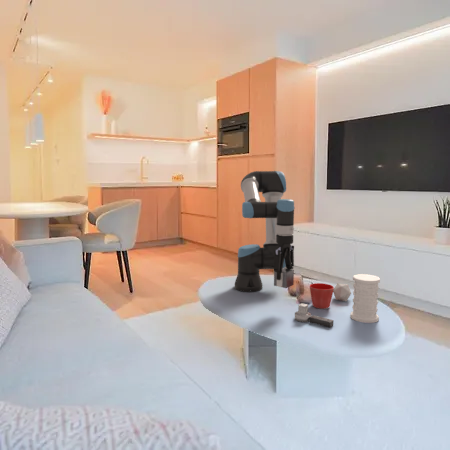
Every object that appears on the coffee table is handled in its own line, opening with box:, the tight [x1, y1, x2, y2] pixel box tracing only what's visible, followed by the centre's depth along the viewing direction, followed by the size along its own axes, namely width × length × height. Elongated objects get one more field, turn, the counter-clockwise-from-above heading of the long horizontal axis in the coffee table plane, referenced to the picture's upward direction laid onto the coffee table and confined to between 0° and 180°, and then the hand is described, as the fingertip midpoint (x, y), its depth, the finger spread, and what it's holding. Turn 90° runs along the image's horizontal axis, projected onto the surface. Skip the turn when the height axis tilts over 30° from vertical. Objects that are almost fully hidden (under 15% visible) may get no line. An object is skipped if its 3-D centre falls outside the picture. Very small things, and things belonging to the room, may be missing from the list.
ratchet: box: [294, 302, 334, 329], centre depth 162 cm, size 16×7×6 cm, turn 51°
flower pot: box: [309, 282, 335, 310], centre depth 181 cm, size 11×11×10 cm
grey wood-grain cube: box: [273, 267, 295, 289], centre depth 174 cm, size 6×6×7 cm
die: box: [333, 282, 352, 302], centre depth 190 cm, size 8×9×10 cm
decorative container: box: [349, 273, 381, 324], centre depth 166 cm, size 12×12×18 cm
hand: (283, 284), depth 175 cm, fingers closed on grey wood-grain cube, 6 cm apart
